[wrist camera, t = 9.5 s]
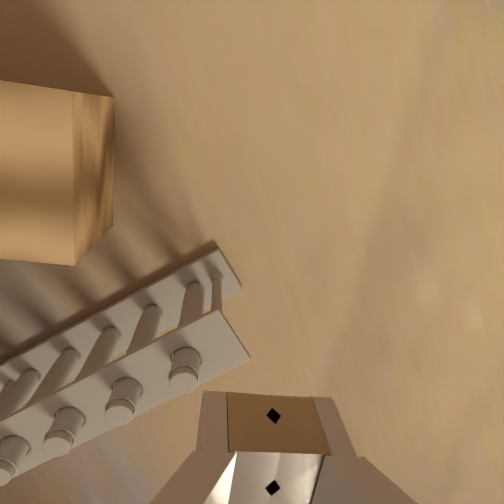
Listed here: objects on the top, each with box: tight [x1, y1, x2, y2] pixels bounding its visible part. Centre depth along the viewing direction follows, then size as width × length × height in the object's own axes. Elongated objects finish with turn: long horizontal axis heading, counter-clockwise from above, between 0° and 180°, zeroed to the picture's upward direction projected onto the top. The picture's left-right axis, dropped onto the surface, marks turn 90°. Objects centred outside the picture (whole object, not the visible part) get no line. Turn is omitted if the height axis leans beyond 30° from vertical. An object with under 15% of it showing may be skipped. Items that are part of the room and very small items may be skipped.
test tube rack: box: [0, 247, 251, 486], centre depth 28 cm, size 25×4×13 cm, turn 118°
